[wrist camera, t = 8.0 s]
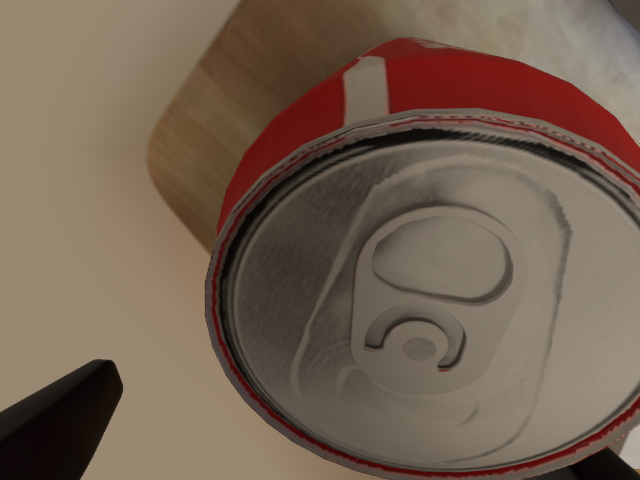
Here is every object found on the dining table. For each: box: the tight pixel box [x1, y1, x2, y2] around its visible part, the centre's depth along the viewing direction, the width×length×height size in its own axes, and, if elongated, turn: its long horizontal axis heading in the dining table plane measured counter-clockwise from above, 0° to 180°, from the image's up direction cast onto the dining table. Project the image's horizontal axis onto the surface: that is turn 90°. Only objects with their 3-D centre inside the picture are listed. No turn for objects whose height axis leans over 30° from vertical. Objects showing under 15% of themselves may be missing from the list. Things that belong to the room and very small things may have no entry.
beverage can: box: [205, 38, 640, 480], centre depth 10 cm, size 6×6×15 cm
